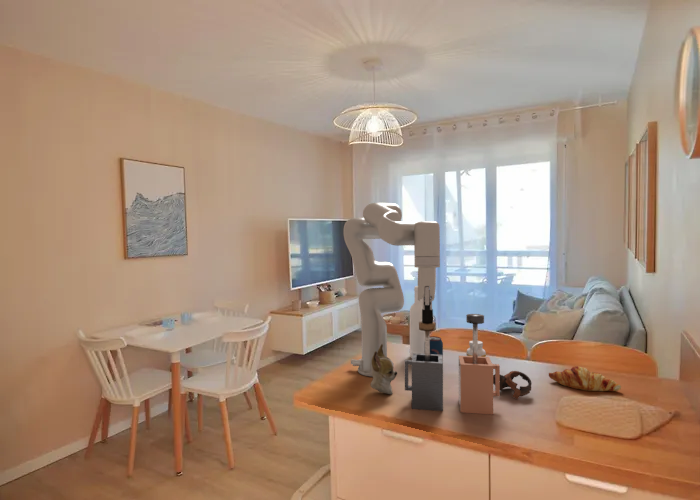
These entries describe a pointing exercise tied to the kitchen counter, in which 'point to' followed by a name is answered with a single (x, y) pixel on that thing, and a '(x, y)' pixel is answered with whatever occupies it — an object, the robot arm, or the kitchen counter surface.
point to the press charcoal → (426, 382)
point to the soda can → (436, 346)
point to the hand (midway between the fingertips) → (427, 322)
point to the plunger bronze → (427, 337)
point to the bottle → (416, 327)
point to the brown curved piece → (507, 382)
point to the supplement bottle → (480, 351)
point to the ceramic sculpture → (382, 372)
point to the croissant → (584, 380)
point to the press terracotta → (477, 385)
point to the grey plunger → (475, 332)
